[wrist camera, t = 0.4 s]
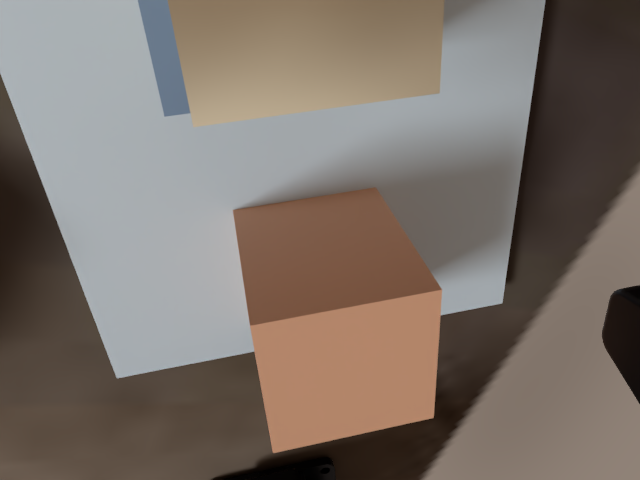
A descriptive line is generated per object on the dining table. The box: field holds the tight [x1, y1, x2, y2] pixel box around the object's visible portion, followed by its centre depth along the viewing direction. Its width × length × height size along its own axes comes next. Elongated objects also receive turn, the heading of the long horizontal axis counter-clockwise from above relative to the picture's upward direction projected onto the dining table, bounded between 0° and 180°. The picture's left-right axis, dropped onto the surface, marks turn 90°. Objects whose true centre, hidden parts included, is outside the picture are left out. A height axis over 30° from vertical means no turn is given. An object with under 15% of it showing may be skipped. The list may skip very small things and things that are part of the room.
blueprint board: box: [0, 0, 545, 378], centre depth 18 cm, size 18×16×1 cm
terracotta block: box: [233, 187, 442, 453], centre depth 18 cm, size 5×5×6 cm
